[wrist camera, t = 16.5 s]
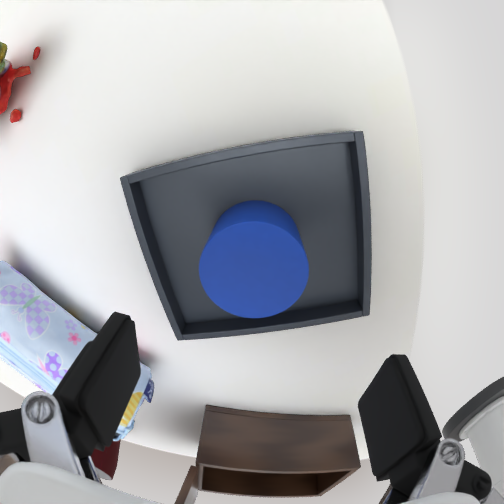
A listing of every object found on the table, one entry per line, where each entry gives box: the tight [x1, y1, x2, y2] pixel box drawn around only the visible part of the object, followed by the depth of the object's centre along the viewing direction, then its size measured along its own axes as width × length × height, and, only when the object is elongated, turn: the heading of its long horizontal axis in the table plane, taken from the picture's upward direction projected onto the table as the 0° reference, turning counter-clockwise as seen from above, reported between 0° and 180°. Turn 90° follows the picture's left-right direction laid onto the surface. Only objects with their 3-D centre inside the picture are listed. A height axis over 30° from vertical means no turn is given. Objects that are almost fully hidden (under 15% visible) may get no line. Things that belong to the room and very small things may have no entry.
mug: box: [91, 440, 120, 480], centre depth 27 cm, size 10×8×10 cm
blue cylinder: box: [199, 200, 309, 318], centre depth 17 cm, size 6×6×4 cm
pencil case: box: [0, 261, 154, 441], centre depth 20 cm, size 21×9×10 cm, turn 52°
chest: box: [196, 405, 361, 497], centre depth 27 cm, size 18×13×8 cm
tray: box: [120, 131, 372, 340], centre depth 19 cm, size 15×13×2 cm
